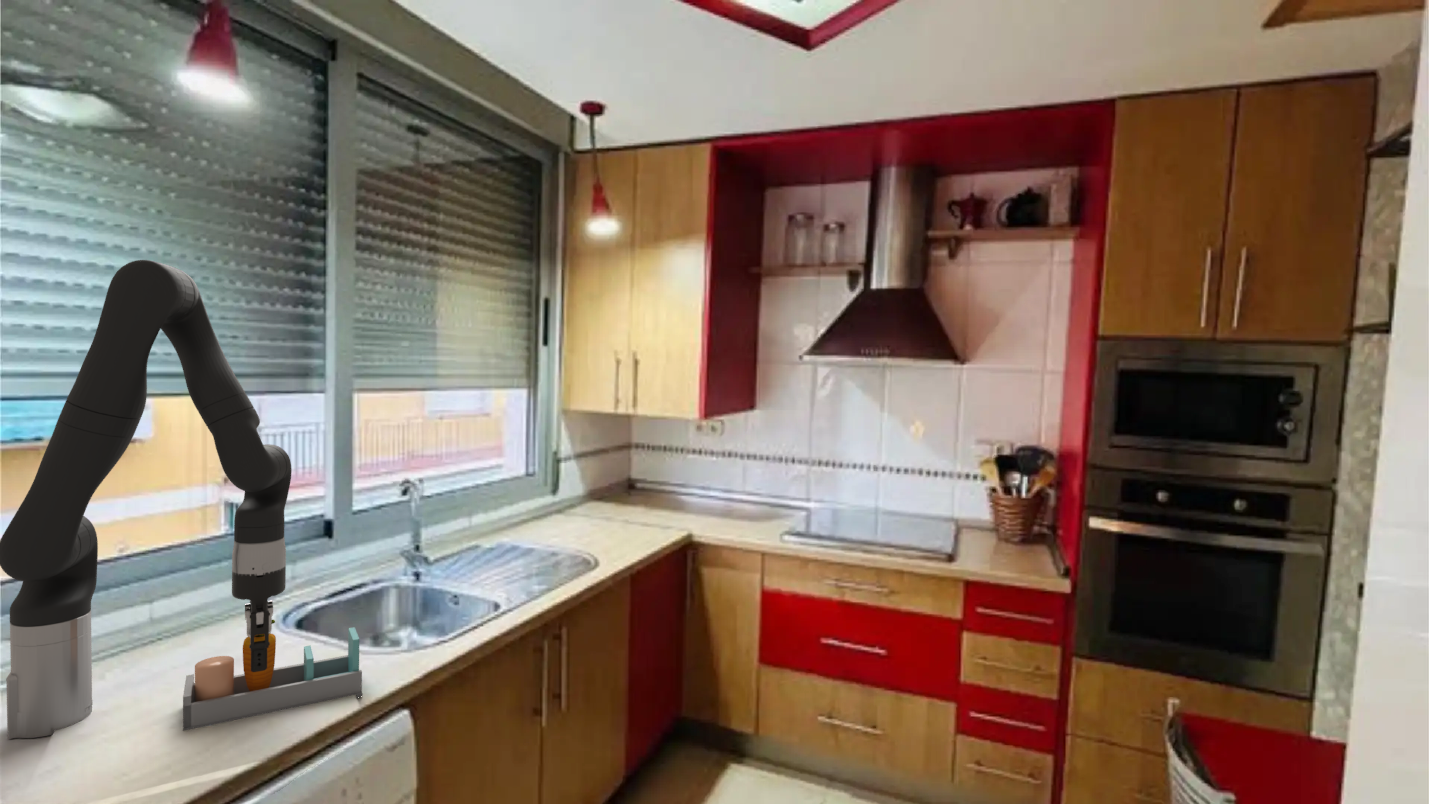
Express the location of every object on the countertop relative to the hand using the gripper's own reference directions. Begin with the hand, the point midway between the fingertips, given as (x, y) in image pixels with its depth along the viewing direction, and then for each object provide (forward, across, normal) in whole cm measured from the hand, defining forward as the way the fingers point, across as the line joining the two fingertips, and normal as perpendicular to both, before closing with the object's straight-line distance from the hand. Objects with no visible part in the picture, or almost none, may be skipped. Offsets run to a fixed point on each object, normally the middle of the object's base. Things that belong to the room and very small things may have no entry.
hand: (258, 660), depth 117 cm
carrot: (+7, 0, 0) cm, 7 cm away
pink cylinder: (+7, 0, -6) cm, 9 cm away
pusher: (+7, 0, +11) cm, 13 cm away
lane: (+8, 0, +3) cm, 8 cm away
